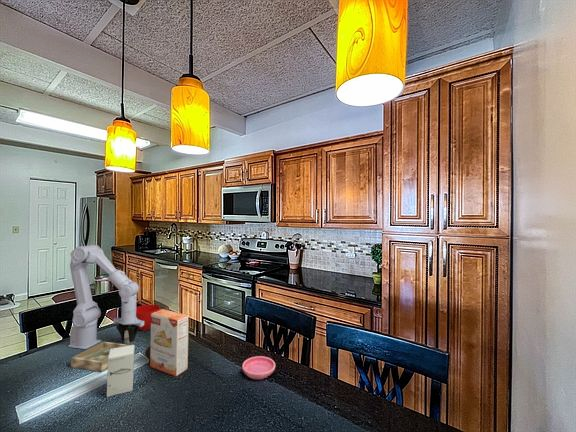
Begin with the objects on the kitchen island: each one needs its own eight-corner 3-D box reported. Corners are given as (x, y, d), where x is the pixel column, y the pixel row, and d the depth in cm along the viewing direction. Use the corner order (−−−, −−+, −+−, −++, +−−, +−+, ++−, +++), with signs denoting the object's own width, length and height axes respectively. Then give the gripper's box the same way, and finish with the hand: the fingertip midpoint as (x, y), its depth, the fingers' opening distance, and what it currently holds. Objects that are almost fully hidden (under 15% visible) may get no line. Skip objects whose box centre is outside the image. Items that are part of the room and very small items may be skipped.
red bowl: (144, 337, 127) (144, 316, 127) (125, 329, 137) (126, 309, 137) (169, 328, 138) (169, 309, 138) (150, 321, 147) (151, 302, 147)
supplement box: (105, 398, 85) (106, 358, 85) (108, 385, 92) (109, 347, 92) (132, 391, 89) (133, 353, 89) (133, 379, 95) (134, 343, 95)
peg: (122, 346, 119) (122, 330, 119) (127, 343, 122) (128, 327, 122) (128, 347, 118) (128, 331, 118) (133, 343, 121) (134, 328, 121)
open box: (70, 367, 102) (70, 358, 102) (103, 349, 115) (103, 341, 115) (101, 372, 99) (101, 362, 99) (131, 353, 113) (131, 345, 113)
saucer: (268, 360, 109) (268, 353, 109) (280, 377, 98) (280, 368, 98) (238, 367, 104) (238, 359, 104) (248, 386, 93) (248, 377, 93)
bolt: (170, 346, 123) (152, 363, 108) (160, 340, 124) (142, 356, 109) (176, 335, 124) (160, 350, 109) (167, 329, 124) (150, 343, 109)
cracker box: (148, 367, 102) (150, 312, 103) (162, 360, 108) (163, 308, 108) (175, 377, 96) (176, 319, 97) (188, 369, 102) (189, 314, 102)
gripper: (149, 308, 122) (148, 338, 122) (122, 306, 125) (121, 335, 125) (137, 314, 115) (137, 345, 115) (109, 311, 118) (108, 342, 118)
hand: (128, 340), depth 120 cm, fingers open, 3 cm apart
